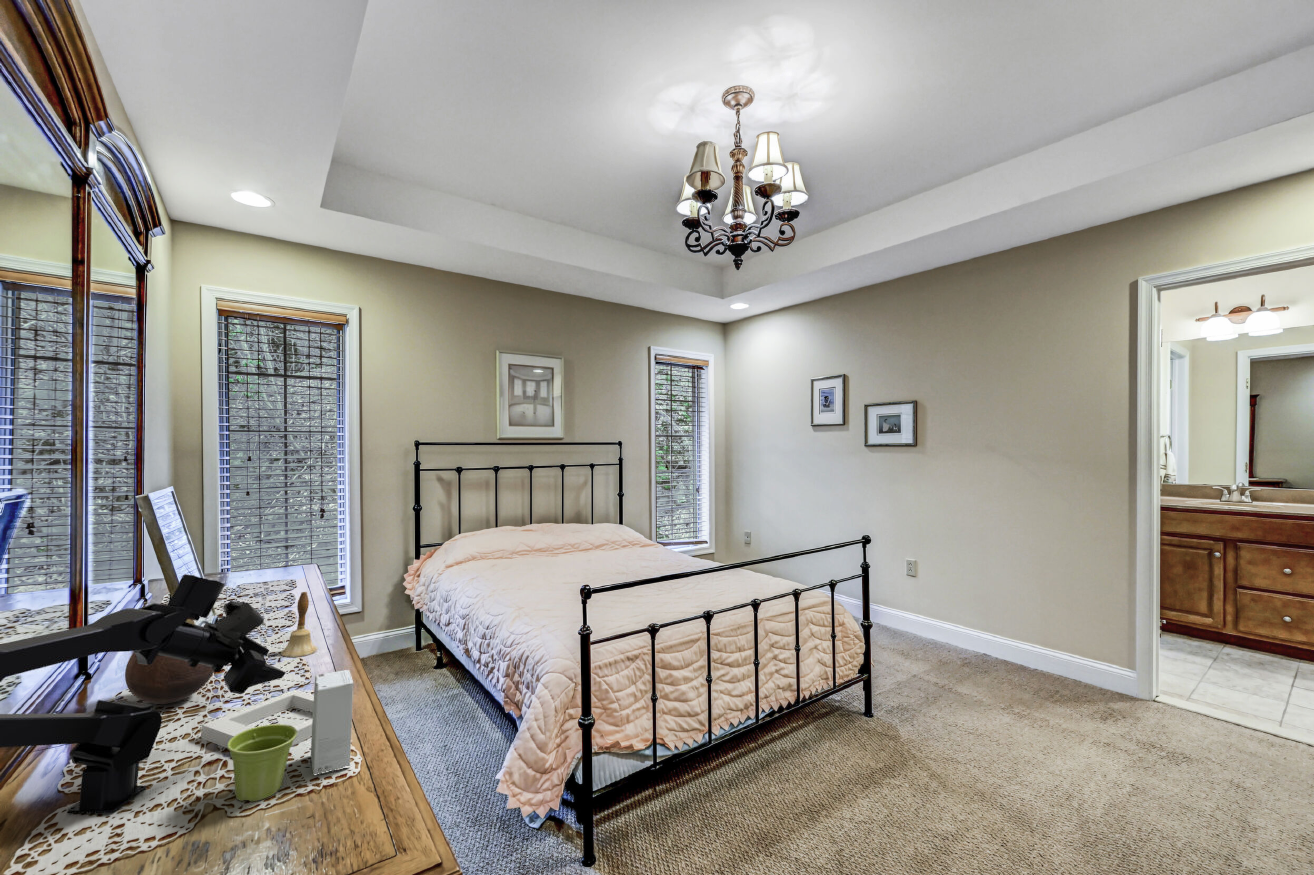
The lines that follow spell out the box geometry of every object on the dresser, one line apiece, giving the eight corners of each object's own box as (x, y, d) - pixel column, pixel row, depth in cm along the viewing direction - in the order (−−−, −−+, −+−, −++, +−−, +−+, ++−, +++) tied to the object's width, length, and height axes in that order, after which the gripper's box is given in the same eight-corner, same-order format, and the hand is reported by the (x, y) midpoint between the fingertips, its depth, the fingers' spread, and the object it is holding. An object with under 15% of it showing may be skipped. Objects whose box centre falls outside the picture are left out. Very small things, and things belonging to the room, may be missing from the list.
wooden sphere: (229, 696, 126) (234, 627, 126) (145, 723, 112) (151, 646, 113) (190, 681, 132) (196, 616, 133) (107, 705, 118) (113, 632, 119)
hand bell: (283, 648, 156) (288, 589, 156) (318, 645, 159) (322, 588, 160) (278, 658, 148) (282, 597, 149) (315, 655, 152) (319, 595, 152)
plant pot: (281, 768, 100) (285, 718, 100) (302, 791, 94) (306, 737, 94) (215, 791, 92) (220, 736, 93) (233, 817, 86) (237, 759, 87)
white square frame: (260, 760, 102) (262, 746, 102) (200, 738, 108) (201, 724, 108) (351, 718, 119) (351, 706, 119) (294, 701, 125) (295, 689, 125)
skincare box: (350, 768, 101) (356, 683, 101) (310, 777, 97) (316, 689, 98) (345, 746, 108) (351, 667, 108) (308, 754, 104) (314, 672, 105)
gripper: (240, 623, 96) (321, 646, 107) (210, 580, 107) (286, 606, 119) (192, 686, 92) (281, 703, 104) (167, 635, 104) (249, 656, 115)
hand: (275, 663), depth 111 cm, fingers open, 9 cm apart
